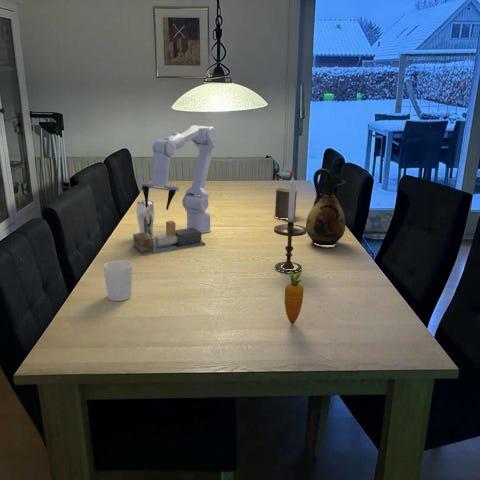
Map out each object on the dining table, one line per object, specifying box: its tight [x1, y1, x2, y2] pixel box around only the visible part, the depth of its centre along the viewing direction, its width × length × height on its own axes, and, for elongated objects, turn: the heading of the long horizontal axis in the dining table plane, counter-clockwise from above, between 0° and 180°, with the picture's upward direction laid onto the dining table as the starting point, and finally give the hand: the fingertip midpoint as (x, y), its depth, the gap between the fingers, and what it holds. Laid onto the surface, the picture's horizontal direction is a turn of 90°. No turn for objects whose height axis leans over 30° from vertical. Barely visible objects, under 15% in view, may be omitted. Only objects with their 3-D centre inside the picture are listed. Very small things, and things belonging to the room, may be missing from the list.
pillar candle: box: [274, 186, 298, 218], centre depth 236 cm, size 10×10×15 cm
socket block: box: [132, 233, 155, 252], centre depth 188 cm, size 4×9×5 cm, turn 31°
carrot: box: [284, 271, 305, 325], centre depth 131 cm, size 5×5×15 cm
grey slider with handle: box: [153, 220, 179, 246], centre depth 194 cm, size 16×4×8 cm, turn 121°
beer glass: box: [136, 200, 155, 240], centre depth 200 cm, size 7×7×15 cm
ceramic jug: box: [305, 167, 346, 245], centre depth 196 cm, size 17×15×30 cm
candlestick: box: [273, 168, 307, 272], centre depth 168 cm, size 11×11×35 cm
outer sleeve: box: [131, 227, 206, 256], centre depth 193 cm, size 26×11×5 cm, turn 121°
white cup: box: [103, 259, 133, 302], centre depth 146 cm, size 8×8×10 cm
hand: (156, 208), depth 189 cm, fingers open, 7 cm apart
